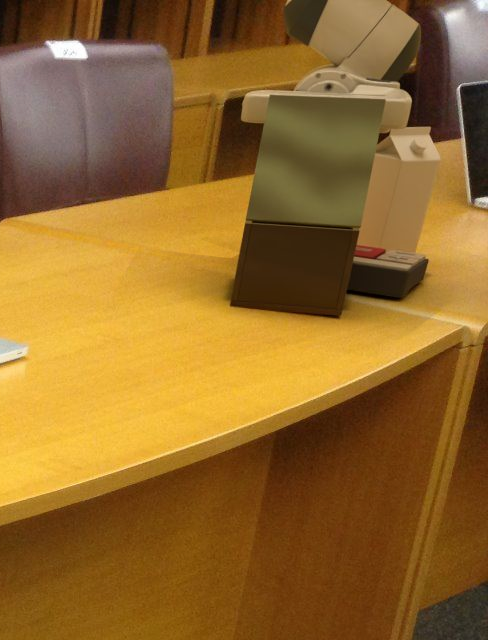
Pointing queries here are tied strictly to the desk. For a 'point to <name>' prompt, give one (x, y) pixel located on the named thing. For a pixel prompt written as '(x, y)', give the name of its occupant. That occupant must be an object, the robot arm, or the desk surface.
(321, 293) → the chest
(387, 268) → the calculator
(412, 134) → the milk carton
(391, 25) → the robot arm
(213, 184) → the desk surface
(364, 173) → the lid
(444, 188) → the desk surface
